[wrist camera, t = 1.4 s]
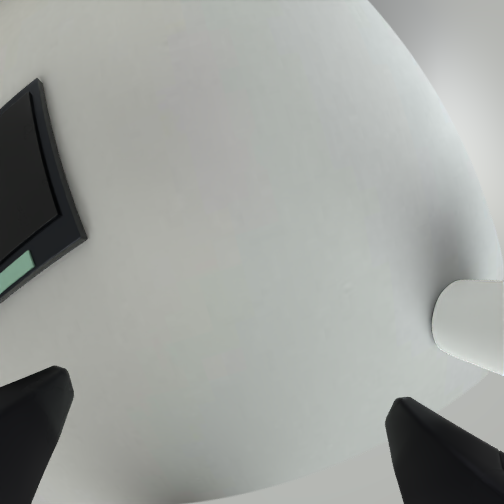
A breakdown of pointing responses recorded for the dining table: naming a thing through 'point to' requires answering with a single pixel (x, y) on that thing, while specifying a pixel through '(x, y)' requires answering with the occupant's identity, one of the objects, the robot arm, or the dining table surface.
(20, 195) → the scale
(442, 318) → the can
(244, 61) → the dining table surface
